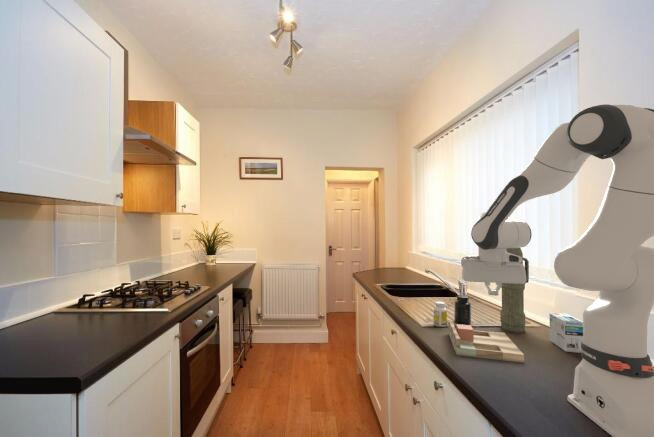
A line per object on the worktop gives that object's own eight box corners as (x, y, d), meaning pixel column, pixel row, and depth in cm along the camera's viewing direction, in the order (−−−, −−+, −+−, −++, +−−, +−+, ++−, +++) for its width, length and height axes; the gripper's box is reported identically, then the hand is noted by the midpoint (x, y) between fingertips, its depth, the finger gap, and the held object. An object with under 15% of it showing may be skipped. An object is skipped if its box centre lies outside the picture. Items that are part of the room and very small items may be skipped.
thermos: (493, 325, 130) (492, 245, 131) (521, 326, 129) (521, 246, 130) (502, 332, 121) (501, 247, 122) (533, 333, 120) (532, 247, 121)
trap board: (524, 362, 94) (523, 345, 94) (456, 354, 99) (456, 338, 100) (504, 339, 113) (504, 325, 113) (448, 334, 119) (448, 320, 119)
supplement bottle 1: (447, 324, 131) (447, 301, 131) (446, 327, 126) (446, 304, 126) (434, 322, 133) (434, 300, 134) (433, 325, 128) (433, 303, 129)
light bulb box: (587, 354, 101) (587, 322, 101) (565, 352, 102) (564, 320, 103) (568, 342, 112) (568, 313, 112) (548, 340, 113) (548, 312, 113)
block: (473, 341, 105) (473, 329, 105) (458, 339, 106) (458, 328, 106) (470, 336, 110) (470, 325, 110) (456, 334, 111) (456, 324, 111)
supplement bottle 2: (451, 321, 134) (451, 295, 135) (461, 319, 138) (461, 293, 138) (464, 326, 128) (464, 298, 129) (474, 324, 131) (474, 296, 132)
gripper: (462, 256, 106) (463, 295, 105) (527, 257, 101) (528, 298, 100) (459, 255, 112) (460, 291, 111) (520, 256, 107) (522, 295, 106)
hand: (493, 295), depth 106 cm, fingers closed
